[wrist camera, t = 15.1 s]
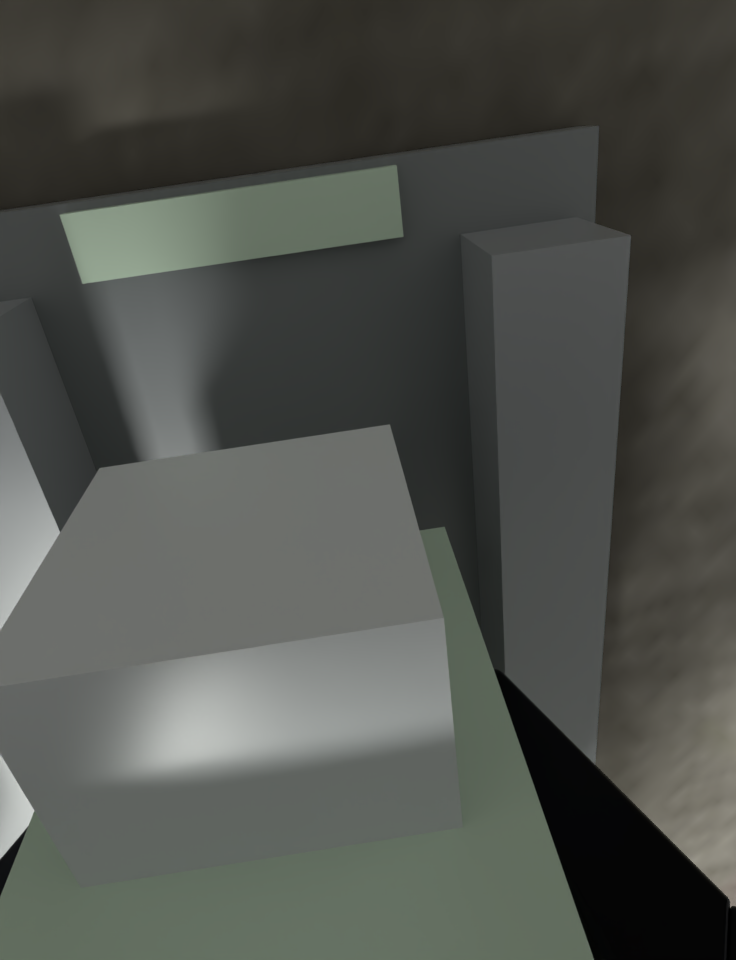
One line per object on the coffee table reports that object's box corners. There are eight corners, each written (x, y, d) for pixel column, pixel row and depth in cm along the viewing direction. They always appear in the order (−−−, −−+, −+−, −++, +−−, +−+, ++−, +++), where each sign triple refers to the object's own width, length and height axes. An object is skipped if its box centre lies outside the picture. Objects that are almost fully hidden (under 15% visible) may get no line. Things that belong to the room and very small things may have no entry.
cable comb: (563, 716, 14) (605, 813, 12) (-293, 850, 13) (-394, 972, 11) (580, 125, 8) (662, 125, 6) (-838, 331, 8) (-1196, 395, 6)
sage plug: (473, 885, 12) (569, 1320, 8) (260, 919, 12) (232, 1377, 8) (432, 377, 7) (626, 766, 3) (72, 430, 7) (-301, 910, 3)
